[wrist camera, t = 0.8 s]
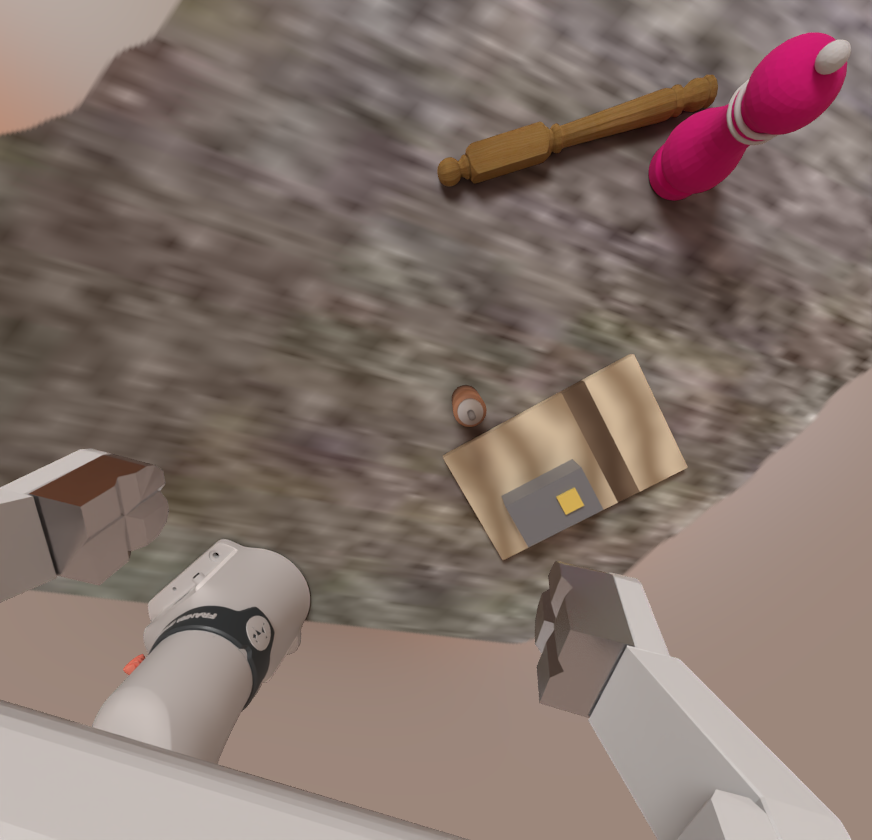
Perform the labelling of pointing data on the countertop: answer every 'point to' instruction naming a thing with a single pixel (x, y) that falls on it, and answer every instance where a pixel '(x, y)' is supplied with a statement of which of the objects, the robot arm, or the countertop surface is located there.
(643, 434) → the subfloor panel
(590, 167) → the countertop surface
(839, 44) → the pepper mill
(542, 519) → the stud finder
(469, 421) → the awl
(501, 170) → the tap handle
